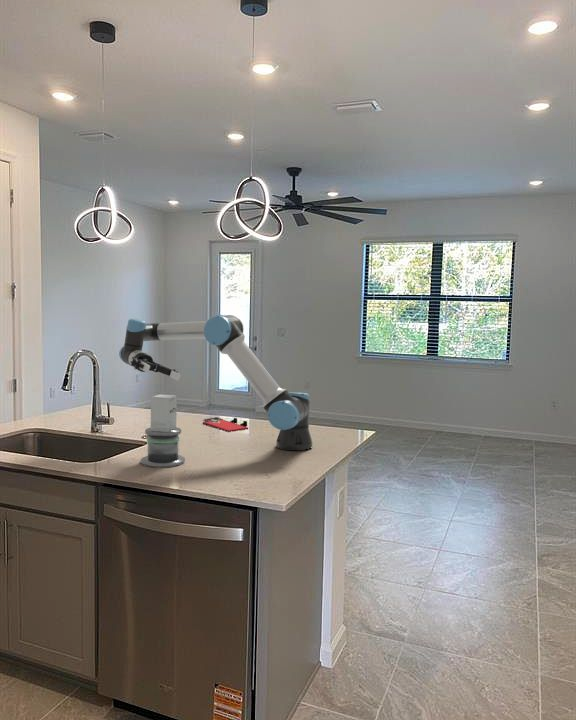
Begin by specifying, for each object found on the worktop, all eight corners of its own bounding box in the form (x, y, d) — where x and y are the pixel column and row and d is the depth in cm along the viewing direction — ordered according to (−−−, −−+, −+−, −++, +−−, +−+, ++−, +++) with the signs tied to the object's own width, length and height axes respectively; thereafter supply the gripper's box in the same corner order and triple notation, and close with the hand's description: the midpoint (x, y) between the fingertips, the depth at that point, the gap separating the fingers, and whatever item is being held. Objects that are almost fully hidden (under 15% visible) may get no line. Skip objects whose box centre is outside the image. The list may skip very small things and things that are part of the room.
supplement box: (169, 432, 211) (169, 397, 210) (149, 431, 213) (150, 396, 212) (177, 428, 218) (177, 394, 217) (158, 427, 220) (158, 393, 219)
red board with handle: (220, 418, 304) (194, 422, 294) (220, 413, 304) (194, 416, 294) (254, 429, 281) (228, 433, 272) (254, 423, 281) (228, 427, 271)
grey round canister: (193, 460, 219) (194, 429, 218) (164, 470, 205) (164, 436, 204) (161, 454, 227) (162, 423, 226) (131, 463, 214) (131, 430, 213)
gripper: (164, 376, 248) (187, 389, 232) (110, 362, 232) (131, 375, 216) (170, 360, 248) (194, 372, 232) (116, 344, 232) (138, 355, 216)
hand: (163, 373), depth 224 cm, fingers open, 13 cm apart
